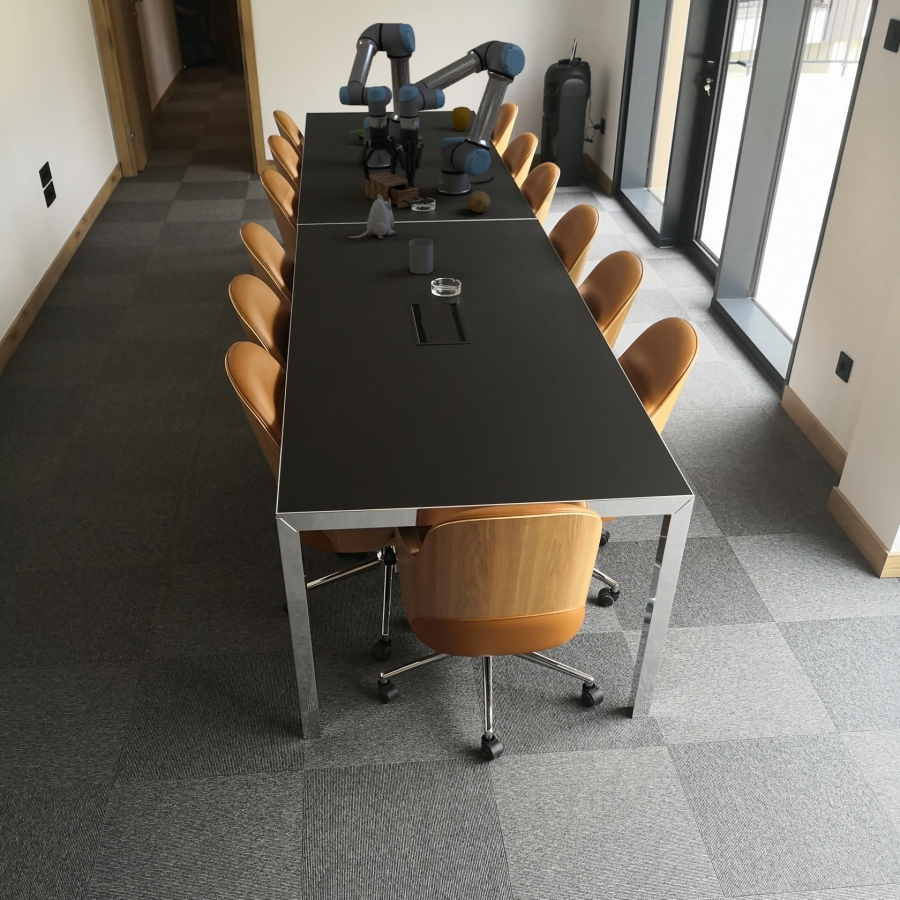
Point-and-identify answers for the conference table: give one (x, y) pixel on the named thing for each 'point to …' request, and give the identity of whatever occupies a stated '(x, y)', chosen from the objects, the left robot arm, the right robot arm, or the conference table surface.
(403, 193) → the drawer
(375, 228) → the toy
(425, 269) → the cup
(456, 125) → the apple
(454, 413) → the conference table surface
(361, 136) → the green leafy plant
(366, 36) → the left robot arm
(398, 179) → the cabinet
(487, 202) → the potato
